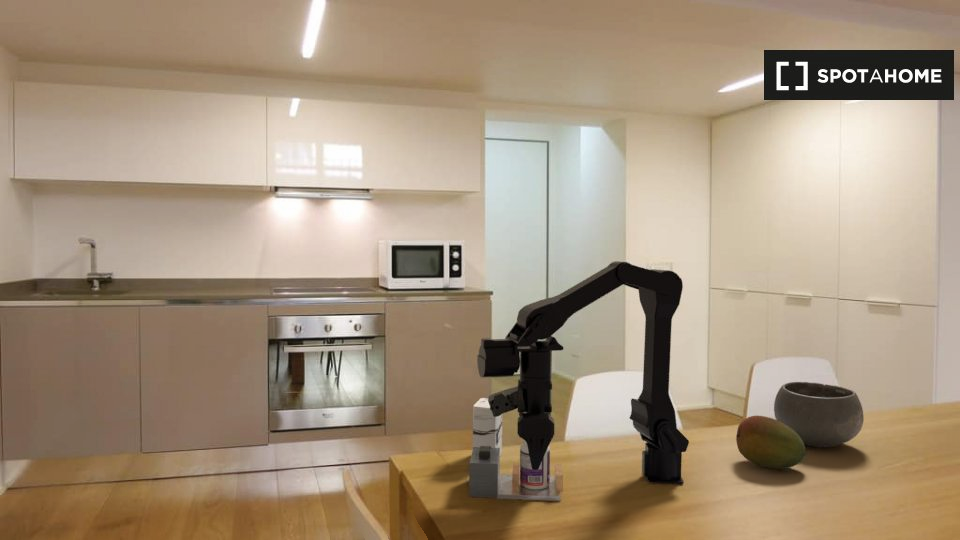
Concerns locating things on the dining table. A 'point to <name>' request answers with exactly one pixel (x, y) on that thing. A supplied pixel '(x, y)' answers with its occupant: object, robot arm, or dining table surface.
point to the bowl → (819, 412)
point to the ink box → (486, 426)
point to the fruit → (769, 443)
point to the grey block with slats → (506, 479)
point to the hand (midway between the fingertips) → (534, 460)
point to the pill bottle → (534, 477)
